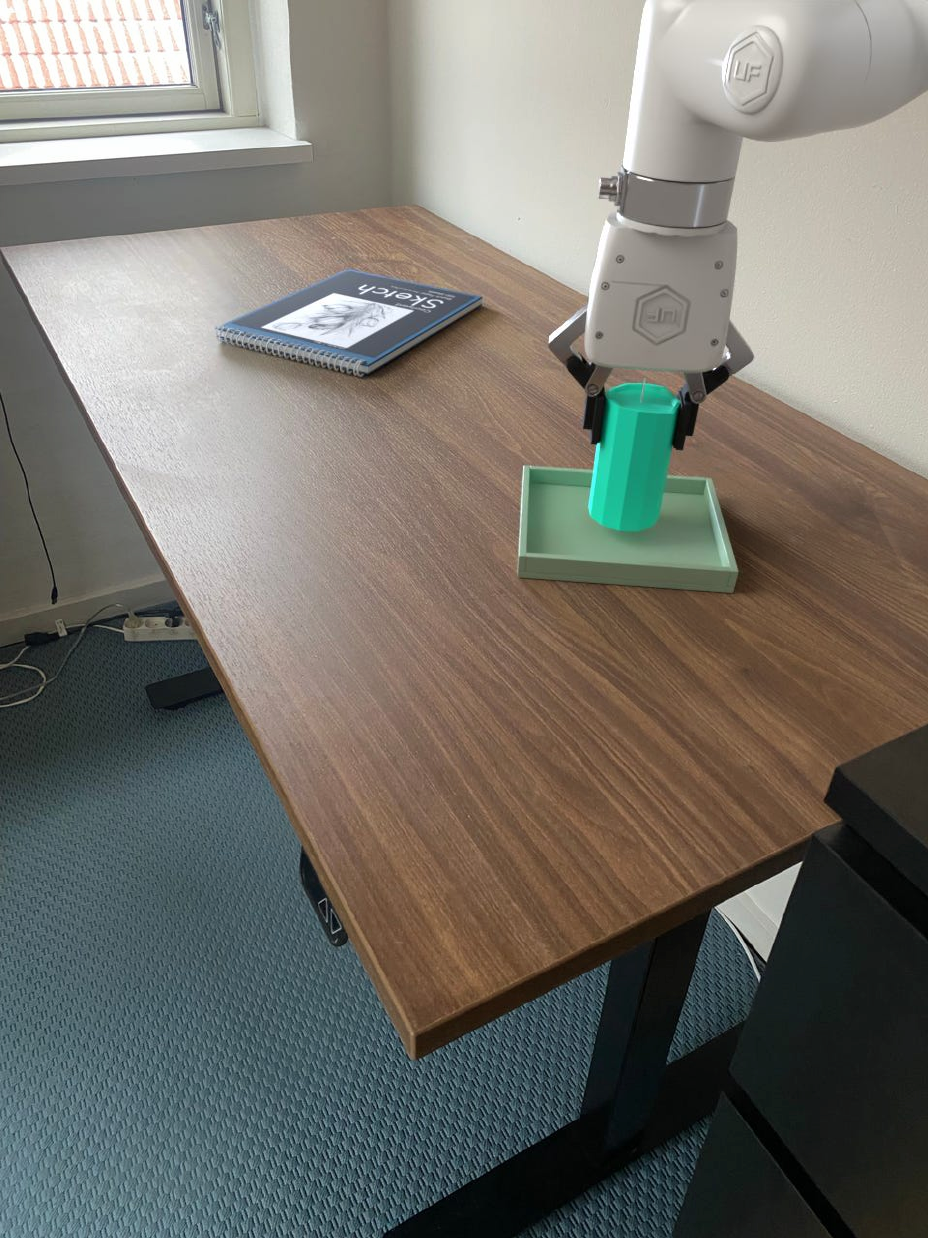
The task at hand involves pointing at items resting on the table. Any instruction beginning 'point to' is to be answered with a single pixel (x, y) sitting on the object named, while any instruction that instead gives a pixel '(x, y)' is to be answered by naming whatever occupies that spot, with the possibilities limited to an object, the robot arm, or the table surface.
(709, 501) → the tray
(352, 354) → the sketchbook
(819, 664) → the table surface
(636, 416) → the candle
